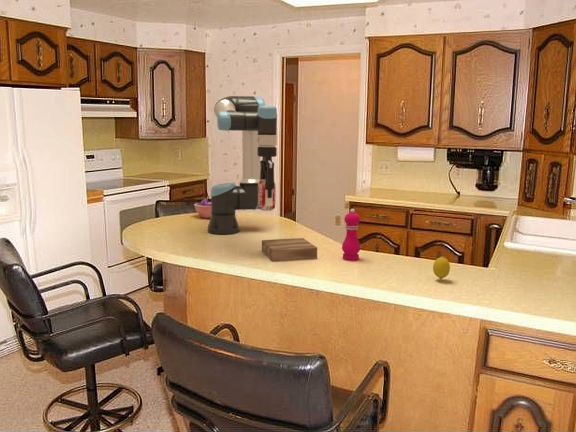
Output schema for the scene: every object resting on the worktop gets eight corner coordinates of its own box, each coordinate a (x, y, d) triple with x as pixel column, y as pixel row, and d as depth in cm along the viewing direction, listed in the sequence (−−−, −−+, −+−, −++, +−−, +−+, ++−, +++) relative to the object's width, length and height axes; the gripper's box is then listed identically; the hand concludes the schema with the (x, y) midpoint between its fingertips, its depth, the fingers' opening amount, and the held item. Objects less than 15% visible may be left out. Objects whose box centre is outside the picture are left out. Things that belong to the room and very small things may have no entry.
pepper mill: (361, 257, 201) (363, 207, 197) (357, 261, 194) (359, 210, 191) (343, 255, 203) (345, 206, 200) (339, 260, 196) (341, 209, 193)
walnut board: (261, 251, 210) (261, 240, 209) (302, 249, 215) (302, 237, 214) (272, 262, 193) (272, 250, 192) (317, 260, 198) (317, 247, 197)
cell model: (228, 221, 273) (228, 201, 271) (191, 221, 273) (191, 200, 271) (231, 216, 290) (231, 196, 288) (196, 215, 290) (196, 196, 288)
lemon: (429, 276, 176) (431, 254, 174) (445, 276, 176) (446, 254, 175) (435, 281, 170) (437, 258, 169) (451, 281, 171) (453, 258, 169)
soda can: (272, 211, 196) (273, 180, 194) (255, 210, 198) (255, 180, 196) (277, 208, 203) (277, 179, 201) (260, 208, 205) (260, 178, 203)
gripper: (252, 145, 205) (252, 201, 209) (263, 147, 186) (263, 208, 190) (270, 145, 207) (270, 201, 211) (282, 147, 188) (282, 208, 192)
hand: (266, 204), depth 200 cm, fingers closed on soda can, 7 cm apart
